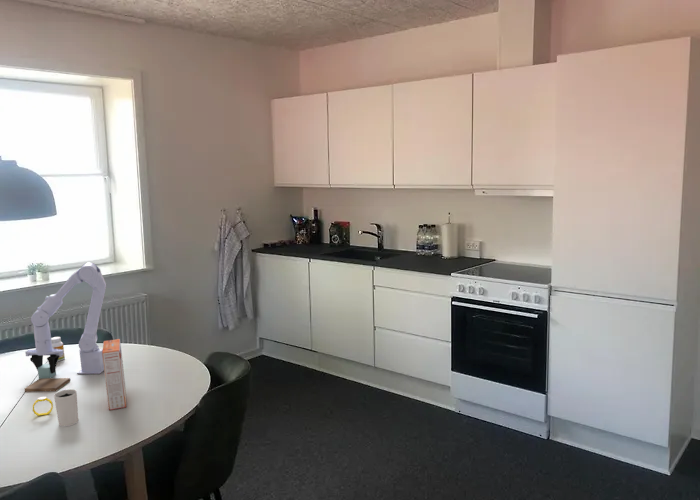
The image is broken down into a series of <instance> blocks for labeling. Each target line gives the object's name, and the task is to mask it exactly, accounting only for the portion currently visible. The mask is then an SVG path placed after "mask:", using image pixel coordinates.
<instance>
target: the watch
mask: <svg viewBox="0 0 700 500" xmlns="http://www.w3.org/2000/svg"><path fill="white" fill-rule="evenodd" d="M47 397H48V396H40V397H37V399H36V400H35V401H34V403H33V404H32V412H33V414H34V415H35V416H38V417H39V416H47V415H49V414H51V412H52V411H53V408H54V403H53V401H52V400H51V399H50V398H47ZM46 401H47V402H48V403H50V405H51V407H50V410H48V411H47V412H40V413H39V412H36V409H35V405H37V403H38V402H46Z"/></svg>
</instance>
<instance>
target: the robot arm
mask: <svg viewBox="0 0 700 500" xmlns="http://www.w3.org/2000/svg"><path fill="white" fill-rule="evenodd" d="M83 282H85V283H87V284H88V285H89V287H90V288H92V293H91V299H90V303H89V308H88V312H87V317H86V321H85V325H84V330H83V333H82V334H81V336H80V339H79V341H78V348H79V351H78V352H79V358H80V367H81V368H80V370H79V371H78V372H77V374H78V375H82V374H83V375H86V374H87V375H88V374H89V375H94V374H95V375H96V374H101V373H103V372H104V365H103V356H102V351H103V348H100V347H99V345H98V344H97V341H98V339H99V338H98V334H97V332H98V331H97V330H98V327H99V326H98V325H99V321H100V317H101V312H102V308H103V302H104V297H105V294H106V293H105V292H106V288H107V282H106V280H105V278H104V275H103V274H102V271H101V268H100V267H99V266H98V265H97V264H95V262H91V261H88V262H85V263H83V264H82V265H81V267H79V268H78V269H77V270H76V271H74V272H73V273H72V274H71V275H70V276H69V278H68V279H67V280H66V281H65V282H64V284H63V285H62V286H61V287H60V288H59V289H58V290H57V292H56V293H54V294H49V296H48V295H46V296H45V298H44V301H43V302H42V304H41V305H40V306H37V308H36V310H35V311H34V313H33V314H32V315H31V318H30V321H31V322H30V323H31V324H32V326H33V337H34V344H35V349H28V350H26V351H25V352H24V353H25V357H30V356H31V357H30V359H29V360H30V361H31V362H32V364H33V365H34V367H35V368H36V371H37V372H38V367H40V366H42V365H43V364H44V363H43V361H44V356H47V358H46V360H47V362H48V364H49V365H50V371H51V374H53V373H54V372H55V371H56V372H57V370H56V368H57V364H58V362H59V361H58V359H59V356H62V355H63V354H64V355H65V349H64V350H60V349H53V348H52V341H51V338H52V335H51V327H50V322H49V320H50V319H51V318H50V317H53V315H55V313H56V312H57V311H58V310H59V308H60V307H61V306H62V305H63V304H64V302H63V299H64V297H66V295H67V294H68V293H70V291H71V290H72V289H73V288H74V287H75V286H76V285H78V284H82V283H83Z"/></svg>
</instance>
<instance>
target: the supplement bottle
mask: <svg viewBox="0 0 700 500" xmlns="http://www.w3.org/2000/svg"><path fill="white" fill-rule="evenodd" d="M51 341H52V348H53V349H60V350H64V351H65V348H64V343H63V342H62V339H61V336H54V337H51ZM65 358H66V357H65V353H64V354H63V355H62V356H59V359H58V361H57V362H60V361H63V360H65Z"/></svg>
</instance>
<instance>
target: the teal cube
mask: <svg viewBox="0 0 700 500" xmlns="http://www.w3.org/2000/svg"><path fill="white" fill-rule="evenodd" d="M37 373H38V379H40V378H53V377H54V376H56V375H57V370H56V371H55V372H54V373H53V374H51V371H50V365H49V363H43V365H42V366H40V367H38V371H37Z"/></svg>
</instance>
